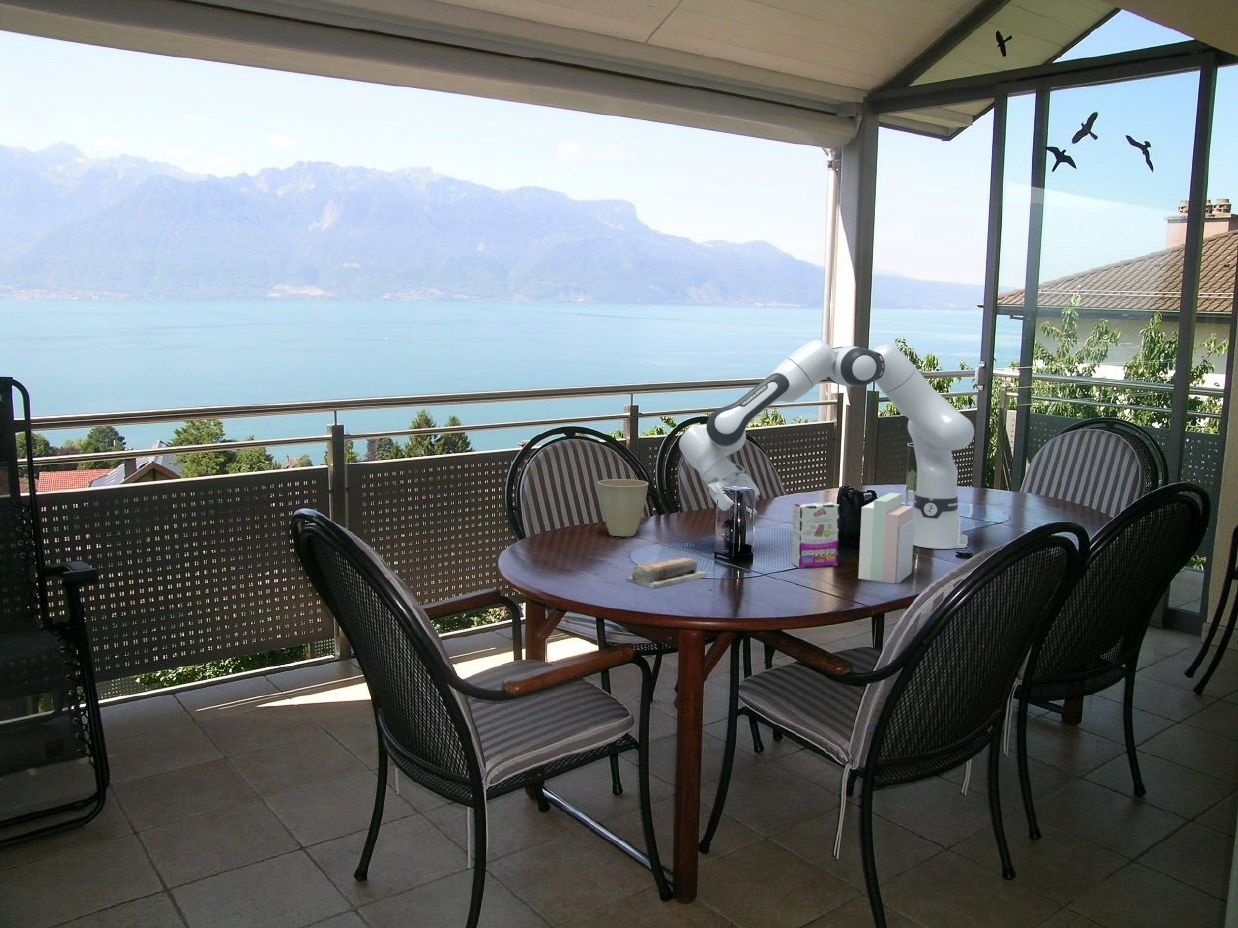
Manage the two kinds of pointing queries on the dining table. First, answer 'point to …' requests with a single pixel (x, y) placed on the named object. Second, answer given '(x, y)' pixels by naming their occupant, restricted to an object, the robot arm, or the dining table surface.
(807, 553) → the candy bar box
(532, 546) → the dining table surface
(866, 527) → the book row
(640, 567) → the packaged product
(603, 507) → the plant pot
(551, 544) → the dining table surface
